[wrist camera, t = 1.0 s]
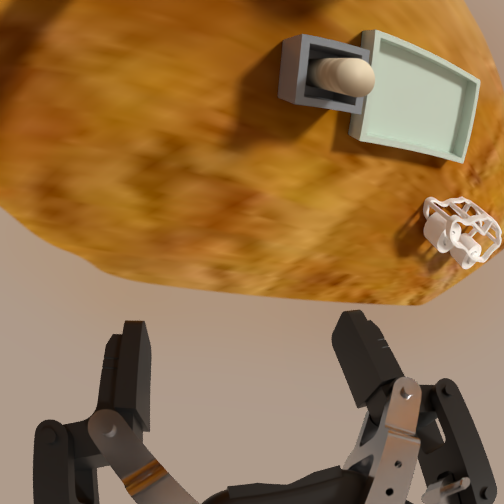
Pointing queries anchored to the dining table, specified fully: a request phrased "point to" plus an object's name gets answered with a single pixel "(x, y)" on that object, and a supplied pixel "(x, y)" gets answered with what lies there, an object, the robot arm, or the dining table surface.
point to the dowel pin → (341, 75)
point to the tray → (415, 100)
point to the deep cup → (296, 71)
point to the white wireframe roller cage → (459, 230)
